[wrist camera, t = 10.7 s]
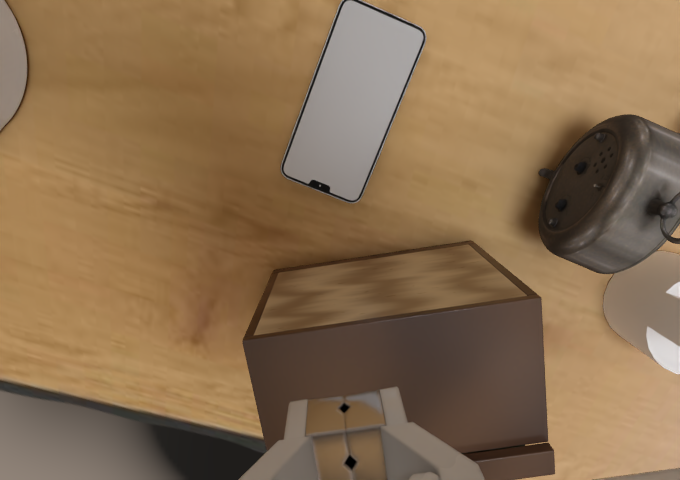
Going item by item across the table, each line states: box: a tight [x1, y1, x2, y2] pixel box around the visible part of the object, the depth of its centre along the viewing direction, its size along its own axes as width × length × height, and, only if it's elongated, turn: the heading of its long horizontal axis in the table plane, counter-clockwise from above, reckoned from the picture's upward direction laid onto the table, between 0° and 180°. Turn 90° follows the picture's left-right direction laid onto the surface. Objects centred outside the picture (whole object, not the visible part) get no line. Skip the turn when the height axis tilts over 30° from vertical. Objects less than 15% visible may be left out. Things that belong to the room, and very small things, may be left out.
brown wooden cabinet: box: [242, 241, 555, 480], centre depth 35 cm, size 18×12×15 cm, turn 99°
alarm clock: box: [539, 115, 680, 274], centre depth 31 cm, size 11×5×16 cm, turn 157°
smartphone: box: [281, 0, 426, 203], centre depth 37 cm, size 7×1×15 cm
